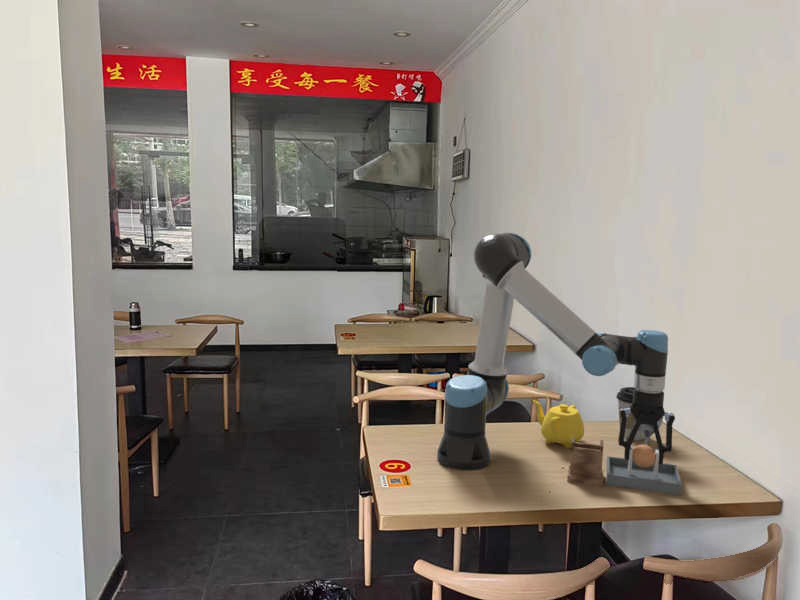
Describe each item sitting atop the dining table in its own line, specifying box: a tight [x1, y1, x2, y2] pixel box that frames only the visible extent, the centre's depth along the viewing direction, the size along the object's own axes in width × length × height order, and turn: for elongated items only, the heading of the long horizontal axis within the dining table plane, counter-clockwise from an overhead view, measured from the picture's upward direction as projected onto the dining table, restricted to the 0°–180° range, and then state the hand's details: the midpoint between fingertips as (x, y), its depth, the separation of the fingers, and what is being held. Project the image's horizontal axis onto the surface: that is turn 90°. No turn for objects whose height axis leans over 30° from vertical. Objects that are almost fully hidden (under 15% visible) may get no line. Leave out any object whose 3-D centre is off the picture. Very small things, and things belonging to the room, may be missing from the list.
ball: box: [632, 444, 656, 468], centre depth 166 cm, size 6×6×6 cm
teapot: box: [532, 399, 585, 449], centre depth 193 cm, size 14×14×12 cm
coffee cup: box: [615, 386, 645, 441], centre depth 198 cm, size 11×11×15 cm
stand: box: [566, 437, 604, 487], centre depth 166 cm, size 9×7×10 cm
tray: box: [605, 455, 683, 496], centre depth 167 cm, size 18×13×3 cm
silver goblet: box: [639, 407, 665, 446], centre depth 182 cm, size 8×8×15 cm
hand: (642, 472), depth 167 cm, fingers closed on ball, 6 cm apart
